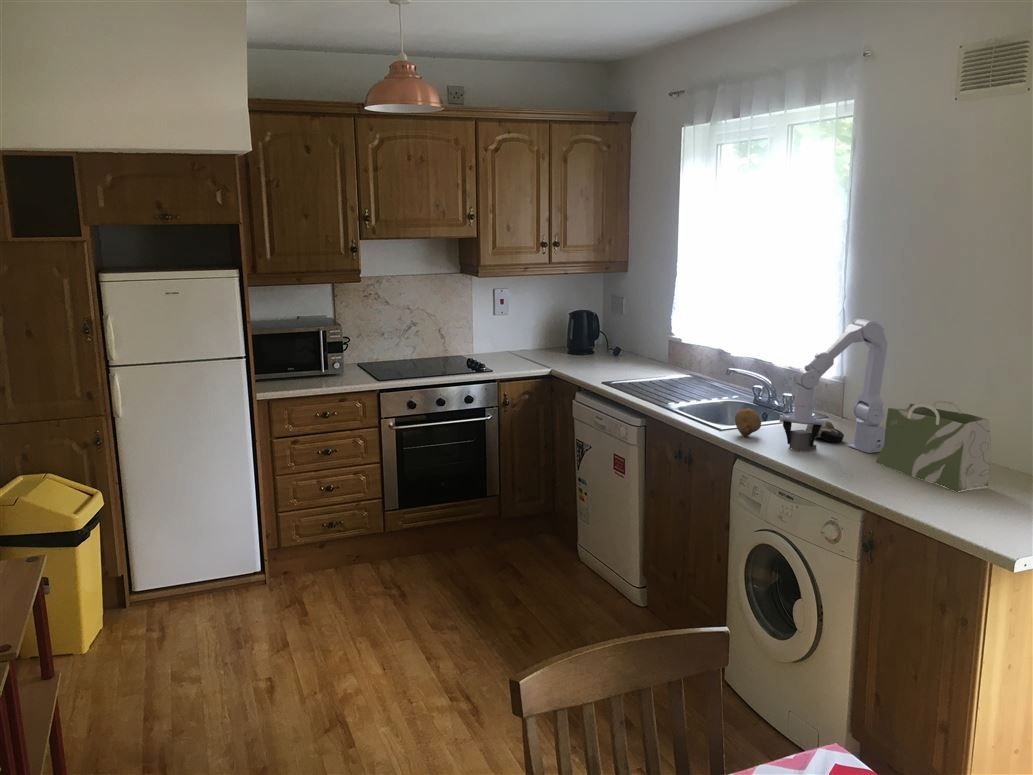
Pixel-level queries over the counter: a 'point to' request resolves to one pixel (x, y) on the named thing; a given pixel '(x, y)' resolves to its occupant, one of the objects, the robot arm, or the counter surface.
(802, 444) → the stepped grey block
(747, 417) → the natural sponge
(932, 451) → the grocery bag
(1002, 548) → the counter surface
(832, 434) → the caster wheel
